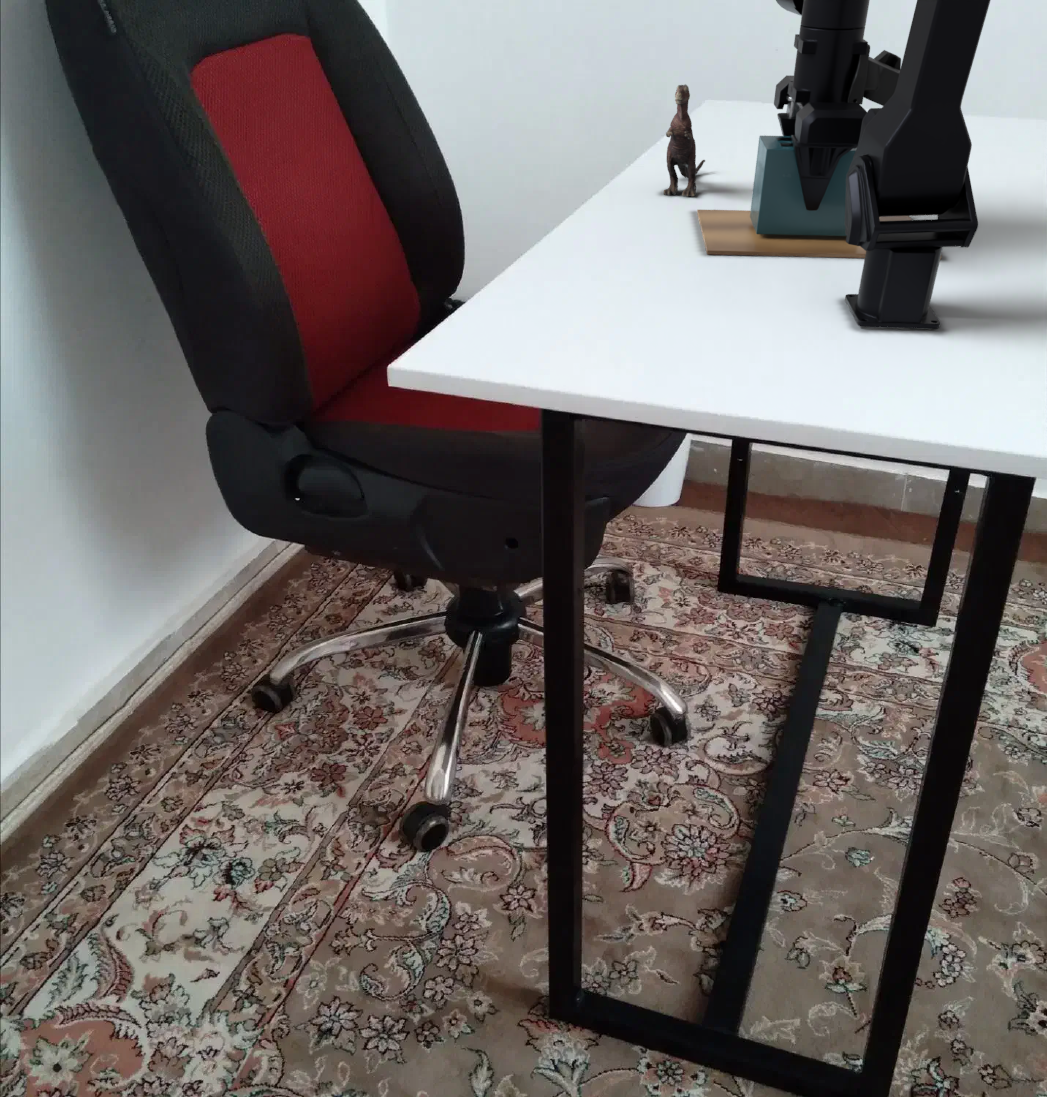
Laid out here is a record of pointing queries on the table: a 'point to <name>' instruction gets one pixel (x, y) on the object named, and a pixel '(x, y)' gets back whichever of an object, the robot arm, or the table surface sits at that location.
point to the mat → (769, 238)
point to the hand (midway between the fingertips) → (806, 201)
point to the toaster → (794, 194)
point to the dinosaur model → (682, 146)
